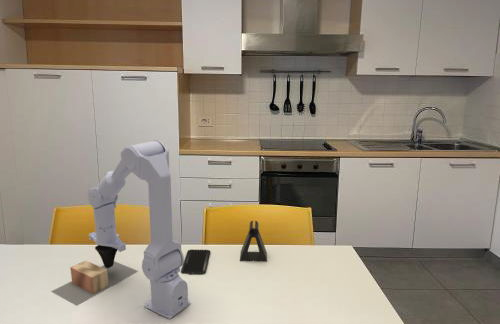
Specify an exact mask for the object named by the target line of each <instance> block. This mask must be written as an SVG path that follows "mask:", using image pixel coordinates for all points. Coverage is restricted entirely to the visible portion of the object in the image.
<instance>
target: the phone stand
mask: <svg viewBox="0 0 500 324" xmlns="http://www.w3.org/2000/svg"><path fill="white" fill-rule="evenodd" d="M253 238H255V241H256V244H257V248H258V251H249V249H250V245H251V242H252V239H253ZM267 253H268V252H267V249H266V246H265V244H264V241H263V238H262V235H261V232H260V229H259V222H258V221H257V220H255V222H254V220H251V221H250V222H249V230H248V232H247V235H246V237H245V239H244V241H243V245H242V247H241V250H240V255H239V261H240V262H263V263H264V262H266V263H267V262H268V254H267Z"/></svg>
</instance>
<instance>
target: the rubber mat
mask: <svg viewBox="0 0 500 324" xmlns="http://www.w3.org/2000/svg"><path fill="white" fill-rule="evenodd" d="M100 267H102V268H104V269H106V270H107V275H108V286H107V287H105V288H103V289H101V290H99V291H97V292H96V293H94V294H93V293H91V292H89V291H87V290H85V289H83V288H81V287H79V286H77V285H75V284H73V283H72V280H71V281H69V282H66V283H65V284H62V285H61V286H59V287H57V288H55V289H53V290H51V293H53V294H55V295H57V296H58V297H60V298H62V299H63V300H65V301H68V302H70V303H71V304H73V305H75V306H76V307H77V306H79V305H81V304H83V303H85V302H86V301H88V300H90V299H92V298H93V297H96V296H97V295H99V294H101V293H102V292H104V291H106V290H108V289H110V288H111V287H114V286H115V285H117V284H119V283H121V282H122V281H124V280H125V279H127V278H130V277H132V276H133V275H134V274H137V273H138V272H139V270H136V269H134V268H132V267H129V266H127V265H124V264H122V263H120V262H117V261H115V260H114V264H113V266H112V267H110V268H105V266H104V264H103V265H101V266H100Z"/></svg>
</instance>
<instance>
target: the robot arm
mask: <svg viewBox="0 0 500 324" xmlns="http://www.w3.org/2000/svg"><path fill="white" fill-rule="evenodd" d="M132 173H133V174H134V175H135V176H136V178H139V180H141V181H145V182H146V183H147V187H148V188H147V189H148V206H149V209H148V210H149V228H150V229H149V230H150V242H149V244H148V245H147V246H146V248H145V249H144V251H143V260H142V262H141V269H142V273H143V274H144V276H145V277H146V278H147V279H148V280H149V281H150V283H149V286H150V298H151V300H149V301H148V302H146V303H145V304H144V308H146V309H148V310H151V311H152V312H154V313H157V314H159V315H160V316H163V317H165V318H166V319H172V318H174V316H176V315H177V314H179V313H180V312H181V311H183V310H184V309H185V308H187V307H188V306H189V305H190V304H191V301H189V292H188V291H189V290H188V287H189V286H188V283H187V281H186V280H185V279H183V278H182V277H181V276H180V275H179V272H180V273H181V268H182V266H183V263H184V260H185V257H184V254H183V250H182V244H181V243H180V241H178V240H176V239H174V238H173V213H172V210H173V209H172V183H171V182H172V179H171V170H170V151H169V149H168V148H167V147H166V145H165V143H163V142H162V141H161V140H158V139H154V140H152V141H147V142H146V141H145V142H141V143H137V144H128V145H125V146H124V148H123V149H122V151H120V160H119V162H118V164H117V165H116V166H115V168H114V170H111V171H106V172H105V173H104V177H103V178H102V180H101V181H99V183H98V185H97V187H96V186H95V187H90V188H89V190H88V192H87V199H88V203H89V205H90V206H91V207H92V208H93V218H94V219H93V221H94V230H95V231H93V232H90V233H89V234H88V238H89V241H94V243H95V244H96V246H95V247H94V250H95V251H96V252H97V253H98V255H99V256H100V258H101V261H102V264H103V265H104V266H105V268H110V267H112V266H113V264H114V261H115V257H116V254H117V252H119V253H121V252H124V251H126V250H127V247H126V243H125V242H123V241H122V240H121V239H120V234H119V233H117V225H116V213H115V209H117V201H118V199H119V195H118V194H119V193H120V192H121V190H122V189H123V188H124V187H125V185H126V178H127V177H128V176H130V175H131V174H132Z"/></svg>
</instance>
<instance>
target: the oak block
mask: <svg viewBox="0 0 500 324" xmlns="http://www.w3.org/2000/svg"><path fill="white" fill-rule="evenodd" d="M69 268H70V275H71V276H70V277H71V281H72V283H73V284H75V285H77V286H79V287H81V288H83V289H85V290H87V291H89V292H91V293H93V294H94V293H96V292H97V291H99V290H101V289H103V288H105V287H107V286H108V275H107V270H106V269H104V268H102V267H101V266H99V265H97V264H95V263H93V262H90V261H88V260H84V261H82V262H80V263H77V264H75V265H72V266H70V267H69Z"/></svg>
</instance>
